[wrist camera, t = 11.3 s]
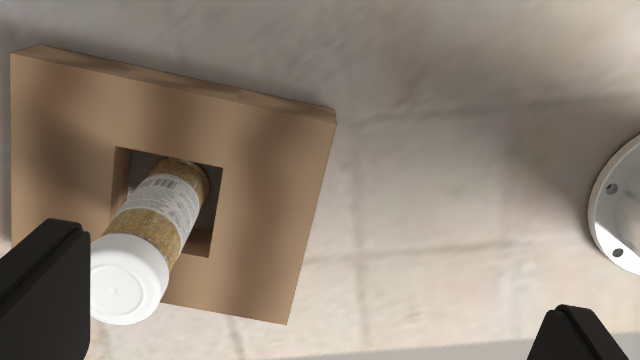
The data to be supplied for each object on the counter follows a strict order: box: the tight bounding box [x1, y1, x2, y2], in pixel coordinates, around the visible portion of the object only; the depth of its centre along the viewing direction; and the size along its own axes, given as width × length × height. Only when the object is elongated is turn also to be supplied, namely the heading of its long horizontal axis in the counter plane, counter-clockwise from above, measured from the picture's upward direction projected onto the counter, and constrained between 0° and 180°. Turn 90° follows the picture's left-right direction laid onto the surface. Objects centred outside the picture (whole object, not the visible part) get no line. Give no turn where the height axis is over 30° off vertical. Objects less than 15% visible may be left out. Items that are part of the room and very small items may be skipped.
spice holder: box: [10, 44, 337, 325], centre depth 36 cm, size 20×16×4 cm
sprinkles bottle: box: [90, 157, 209, 325], centre depth 32 cm, size 5×5×14 cm
